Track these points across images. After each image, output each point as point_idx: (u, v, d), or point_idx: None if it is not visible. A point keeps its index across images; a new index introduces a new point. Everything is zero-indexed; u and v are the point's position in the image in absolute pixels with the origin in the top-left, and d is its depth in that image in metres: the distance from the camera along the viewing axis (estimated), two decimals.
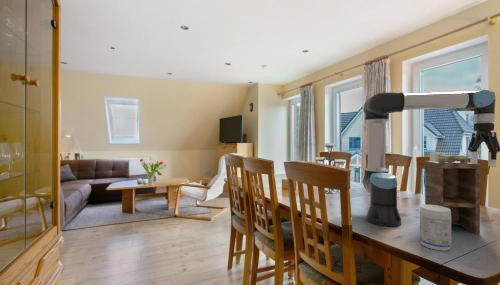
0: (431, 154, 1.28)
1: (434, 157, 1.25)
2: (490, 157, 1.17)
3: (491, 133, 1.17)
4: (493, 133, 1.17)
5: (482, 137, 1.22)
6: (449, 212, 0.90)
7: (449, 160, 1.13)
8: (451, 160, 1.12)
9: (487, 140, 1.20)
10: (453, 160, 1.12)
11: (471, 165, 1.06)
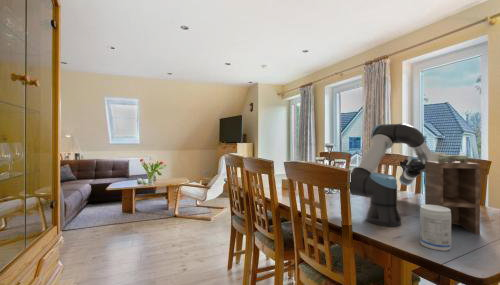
0: (431, 154, 1.28)
1: (434, 157, 1.25)
2: None
3: None
4: None
5: (419, 165, 1.54)
6: (449, 212, 0.90)
7: (449, 160, 1.13)
8: (451, 160, 1.12)
9: None
10: (453, 160, 1.12)
11: (471, 165, 1.06)
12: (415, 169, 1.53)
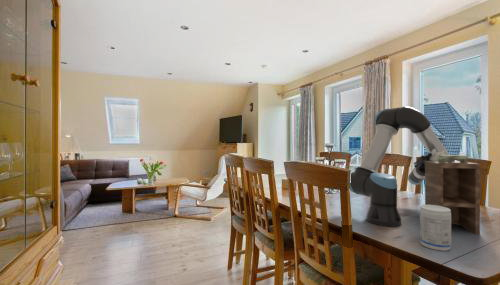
0: None
1: (434, 157, 1.25)
2: None
3: None
4: None
5: None
6: (449, 212, 0.90)
7: (449, 160, 1.13)
8: (451, 160, 1.12)
9: None
10: (453, 160, 1.12)
11: (471, 165, 1.06)
12: None
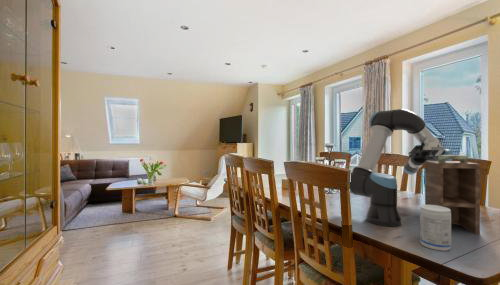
0: None
1: (427, 146, 1.33)
2: None
3: None
4: (434, 154, 1.42)
5: None
6: (449, 212, 0.90)
7: (440, 148, 1.21)
8: (442, 148, 1.20)
9: None
10: (444, 148, 1.20)
11: (471, 165, 1.06)
12: (421, 156, 1.44)
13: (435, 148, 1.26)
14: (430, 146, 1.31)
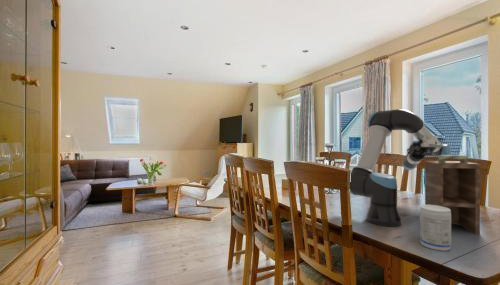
0: None
1: (425, 143, 1.35)
2: None
3: None
4: (432, 151, 1.45)
5: None
6: (449, 212, 0.90)
7: (437, 146, 1.23)
8: (439, 146, 1.22)
9: None
10: (441, 146, 1.22)
11: (471, 165, 1.06)
12: (419, 152, 1.46)
13: (433, 145, 1.28)
14: (428, 143, 1.33)
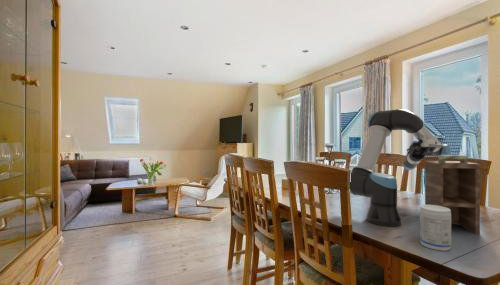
0: None
1: (425, 143, 1.35)
2: None
3: None
4: (432, 151, 1.45)
5: None
6: (449, 212, 0.90)
7: (437, 146, 1.23)
8: (439, 146, 1.22)
9: None
10: (441, 146, 1.22)
11: (471, 165, 1.06)
12: (419, 152, 1.46)
13: (433, 145, 1.28)
14: (428, 143, 1.33)
